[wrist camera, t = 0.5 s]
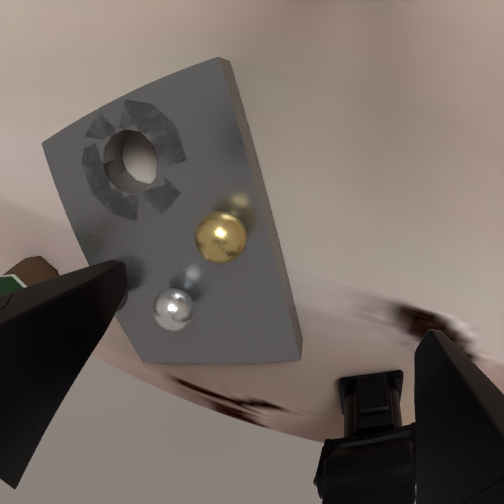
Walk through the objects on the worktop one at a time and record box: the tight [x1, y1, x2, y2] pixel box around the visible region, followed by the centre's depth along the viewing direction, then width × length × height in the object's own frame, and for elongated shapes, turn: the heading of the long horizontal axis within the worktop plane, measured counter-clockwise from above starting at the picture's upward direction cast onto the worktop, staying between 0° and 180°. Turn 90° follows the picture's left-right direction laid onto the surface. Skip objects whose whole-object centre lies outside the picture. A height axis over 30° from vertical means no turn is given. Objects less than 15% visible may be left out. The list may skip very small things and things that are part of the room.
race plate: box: [42, 57, 303, 364], centre depth 23 cm, size 23×16×2 cm
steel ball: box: [153, 289, 195, 331], centre depth 23 cm, size 3×3×3 cm
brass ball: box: [194, 211, 247, 264], centre depth 19 cm, size 3×3×3 cm
